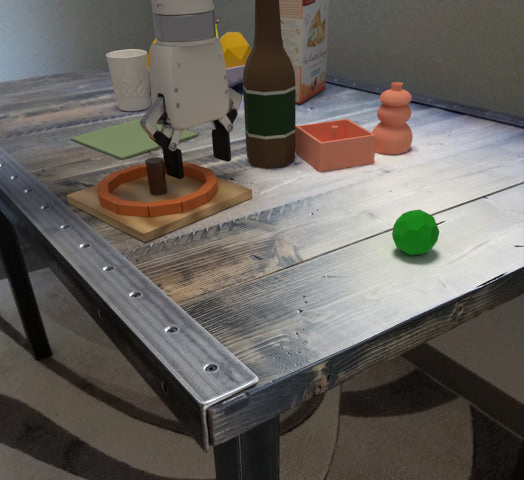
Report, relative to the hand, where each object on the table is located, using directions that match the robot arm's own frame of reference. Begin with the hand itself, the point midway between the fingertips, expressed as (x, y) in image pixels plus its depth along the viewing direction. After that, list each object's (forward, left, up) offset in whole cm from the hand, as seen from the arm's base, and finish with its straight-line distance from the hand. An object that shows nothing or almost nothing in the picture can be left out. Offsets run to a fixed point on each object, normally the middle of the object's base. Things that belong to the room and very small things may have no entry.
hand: (199, 167), depth 82 cm
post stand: (-7, 0, -3) cm, 8 cm away
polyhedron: (+3, -34, -3) cm, 34 cm away
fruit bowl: (+39, +45, -3) cm, 59 cm away
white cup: (+19, +43, -3) cm, 47 cm away
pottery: (+25, -9, -3) cm, 27 cm away
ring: (-7, 0, -1) cm, 7 cm away
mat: (+7, +26, -3) cm, 27 cm away
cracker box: (+47, +22, -3) cm, 52 cm away
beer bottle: (+14, 0, -3) cm, 14 cm away
